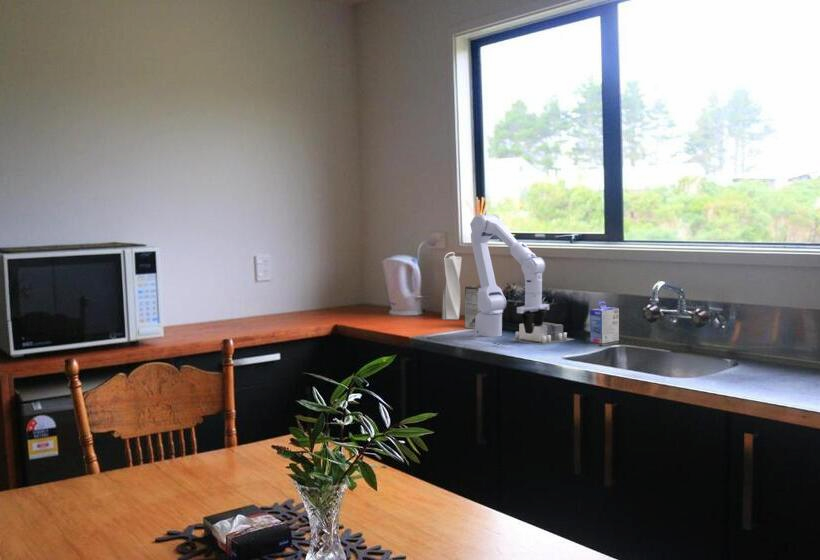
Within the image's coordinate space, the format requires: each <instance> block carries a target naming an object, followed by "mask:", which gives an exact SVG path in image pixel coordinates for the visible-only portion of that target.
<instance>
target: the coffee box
mask: <svg viewBox="0 0 820 560" xmlns="http://www.w3.org/2000/svg"><path fill="white" fill-rule="evenodd" d="M480 289H481V284H475V285H469V286H465V287H464V290H465V291H464V294H465V295H464V296H465V297H464V305H465V306H464V308H465V309H464V314H465V315H464V328H465V329H471V330H473V329H474V330H475V318H476V316H477V314H478V313H480V312H481V311H480V310H479V308H478V305H477V302H478V295H477V294H478V292H479V291H480ZM489 295H490V294H489Z"/></svg>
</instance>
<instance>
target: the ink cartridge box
mask: <svg viewBox="0 0 820 560" xmlns="http://www.w3.org/2000/svg"><path fill="white" fill-rule="evenodd" d="M597 304H598V307H597V308H593V309H590V311H589V327H590V328H589V329H590V331H589V333H590V335H589V336H590V342H591V343H596V344H598V346H600V347H603V346H609V345H614V344H619V342H620V338H619V337H620V335H619V333H620V330H619V329H620V327H619V326H620V323H619V322H620V321H619V319H620V316H619V315H620V312H619V311H620V310H619V309H620V308H619V307H612V306H608V305H607V303H606V302H605V300H603V301H598V302H597ZM601 304H602V305H601Z"/></svg>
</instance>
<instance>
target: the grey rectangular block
mask: <svg viewBox="0 0 820 560" xmlns="http://www.w3.org/2000/svg"><path fill="white" fill-rule="evenodd" d="M518 327H519V328H518V330H519V331H518V332H519V338H520V339H526V340H532V341H538V342H541V341H542V336H546V340H547V326H545V325H538V324H534V323H533V324H532V333H531V334H529V333H526V332H525V328H524V324H523V323H519V325H518Z"/></svg>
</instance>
